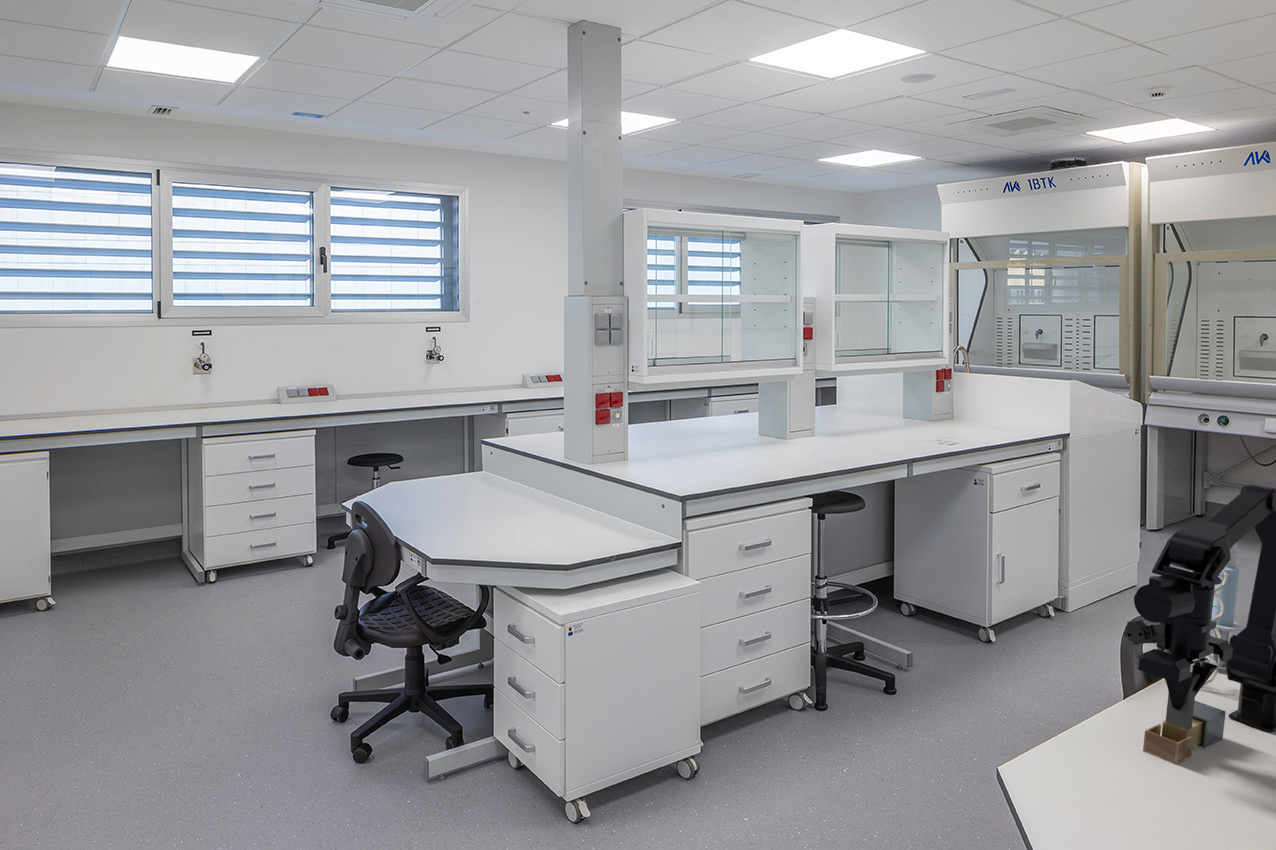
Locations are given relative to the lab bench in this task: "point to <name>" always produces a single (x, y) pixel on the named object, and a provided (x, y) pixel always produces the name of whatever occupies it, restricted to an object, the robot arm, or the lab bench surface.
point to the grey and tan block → (1183, 722)
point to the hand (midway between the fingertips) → (1180, 707)
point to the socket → (1166, 746)
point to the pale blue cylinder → (1226, 606)
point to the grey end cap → (1210, 723)
